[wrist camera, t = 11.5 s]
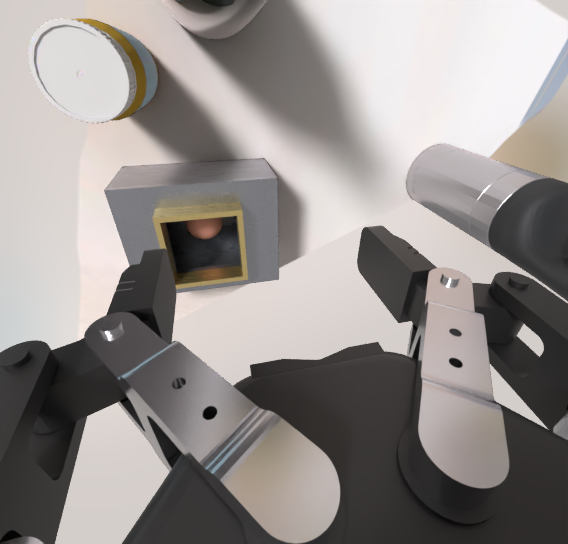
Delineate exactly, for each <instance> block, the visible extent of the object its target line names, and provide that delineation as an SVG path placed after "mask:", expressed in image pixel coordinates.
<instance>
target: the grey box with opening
mask: <svg viewBox="0 0 568 544" xmlns="http://www.w3.org/2000/svg"><path fill="white" fill-rule="evenodd" d="M104 191H105V194H106V197H107V200H108V203H109V206H110V209H111V212H112V215H113V218H114V221H115V224H116V227H117V230H118V232H119V235H120V238H121V241H122V244H123V247H124V250H125V253H126V256H127V259H128V262H129V265H130V266H131V265H135V264H140V262H141V259H142V256H143V252H144V251H145V250H153V249H162V248H165V249H166V250H167V253H168V257H169V261H170V265H171V269H172V273H173V277H174V281H175V286H176V293H181V292H188V291H196V290H203V289H211V288H218V287H226V286H233V285H241V284H248V283H256V282H264V281H271V280H278V279H279V250H278V185H277V177H276V175H275V174H274V172H273V171H272V169H271V168H270V166H269V165H268V163H267V162H266V160H265V159H264V158H260V159H243V160H226V161H209V162H192V163H175V164H159V165H142V166H125V167H122V168H121V169H120V171H119V172H118V173H117V174H116V176H115V177H114V178H113V180H112V181H111V182H110V184H109V185H108V186H107V187H106V189H105V190H104ZM219 217H222V218H223V225H222V228H221V230H220V232H219V233H218V234H217V235H216V236H215V237H213V238H210V239H199V238H196V237H194V236H193V235H192V234H191V233H190V232H189V231H188V230H187V228H186V225H185V221H186V220H197V219H208V218H219Z"/></svg>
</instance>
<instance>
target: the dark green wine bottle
mask: <svg viewBox="0 0 568 544" xmlns="http://www.w3.org/2000/svg"><path fill="white" fill-rule="evenodd" d="M266 1H267V0H162V2H163V4H164V5H165V6H166V8H167V9H168V11H169V12H170V14H171V15H172V16H173V17H174V18H175V19H176V20H177V21H178V22H179V23H180V24H181V25H182V26H183V27H185V28H186V29H187V30H189V31H190V32H192V33H194V34H196V35H198V36H200V37H204V38H208V39H222V38H226V37H230V36H232V35H234V34H236V33H238V32H239V31H240V30H241V29H243V28H244V27H245V26H246V25H247V24H248V23H249V22H250V21H251V20H252V19H253V18H254V16H255V15H256V14H257V13H258V12H259V10H260V9H261V8H262V7H263V6H264V4H265V3H266Z"/></svg>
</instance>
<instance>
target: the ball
mask: <svg viewBox="0 0 568 544" xmlns="http://www.w3.org/2000/svg"><path fill="white" fill-rule="evenodd" d="M185 225H186V228H187V230H188V231H189V232H190V233H191V234H192V235H193V236H194V237H196V238H199V239H210V238H213V237H215V236H216V235H217V234H218V233H219V232H220V230H221V228H222V225H223V218H222V217H219V218H208V219H197V220H186V221H185Z"/></svg>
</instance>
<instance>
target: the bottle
mask: <svg viewBox="0 0 568 544" xmlns="http://www.w3.org/2000/svg"><path fill="white" fill-rule="evenodd" d="M28 59H29V65H30V70H31V72H32V75H33V78H34V80H35V82H36V84H37V86H38V87H39V89H40V90H41V92H42V93H43V95H44V96H45V97H46V98H47V99H48V100H49V101H50V102H51V103H52V104H53V105H54V106H55V107H56V108H58V109H59V110H60V111H61V112H63V113H65V114H66V115H68V116H70V117H72V118H75V119H77V120H80V121H84V122H87V123H89V122H90V123H100V122H101V123H104V122H105V121H106V122H108V121H109V120H120V119H123V118H126V117H128V116H131V115H132V114H134V113H135V112H136V111H138V110H139V109H141V108H142V107H143V106H145V105H146V104H147V103H148V102H149V101H150V100H151V99H152V98H153V97H154V95H155V92H156V90H157V87H158V72H157V67H156V64H155V62H154V60H153V58H152V56H151V54H150V52H149V51H148V50H147V49H146V47H145V46H144V45H143V44H142V43H141V42H140V41H139V40H137V39H136V38H135V37H133V36H132V35H130V34H128V33H126V32H124V31H121V30H119V29H117V28H115V27H112V26H110V25H108V24H105V23H102V22H99V21H97V20H93V19H70V18H69V19H66V18H63V19H60V18H57V20H54V19H53V20H52V21H47V22H46V23H45V24H42V25H41V26H40V27H39V28H38V29H37V30H36V31H35V33H34V34H33V36H32V38H31V41H30V44H29V50H28Z"/></svg>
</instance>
